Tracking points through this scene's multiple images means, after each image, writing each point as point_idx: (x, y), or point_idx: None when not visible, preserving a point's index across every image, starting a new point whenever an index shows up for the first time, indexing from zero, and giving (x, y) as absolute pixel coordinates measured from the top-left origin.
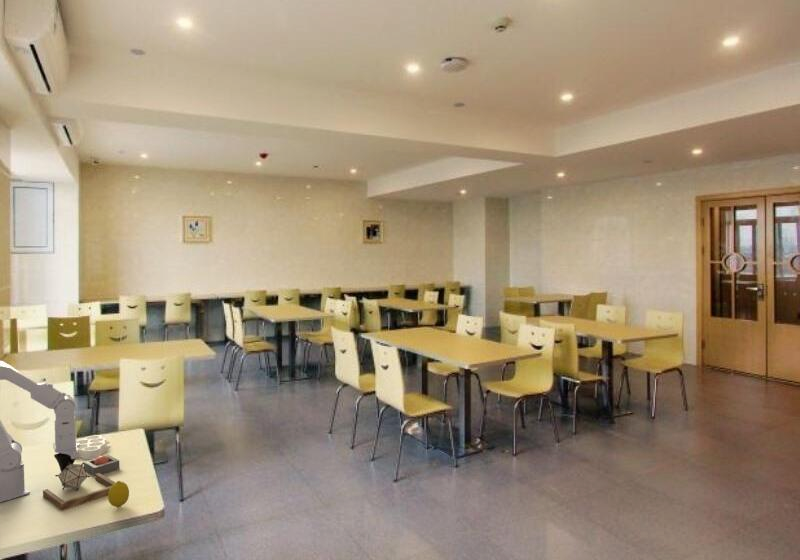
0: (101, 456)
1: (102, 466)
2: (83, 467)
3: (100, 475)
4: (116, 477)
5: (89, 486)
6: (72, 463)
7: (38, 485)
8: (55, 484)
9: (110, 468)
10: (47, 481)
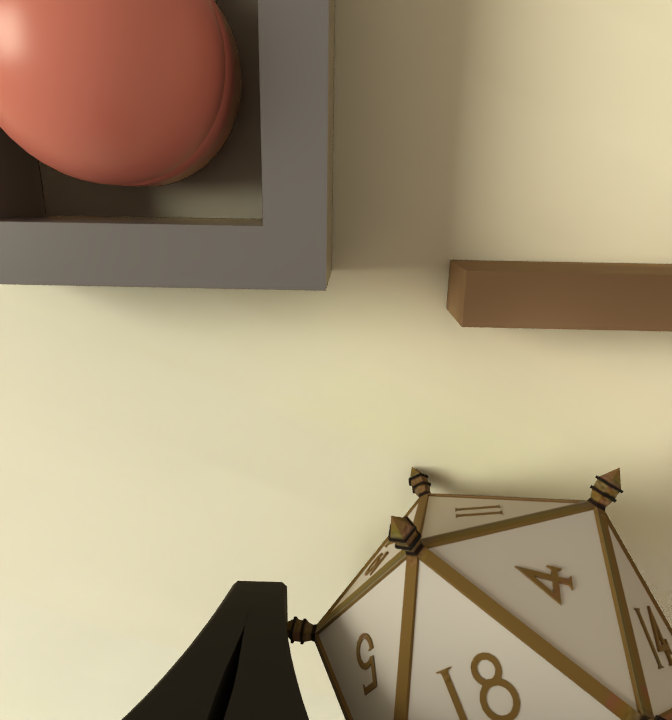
0: (60, 31)
1: (326, 146)
2: (636, 659)
3: (581, 303)
4: (611, 77)
5: (567, 430)
6: (301, 714)
7: (113, 697)
8: (210, 608)
9: (332, 15)
10: (69, 623)
